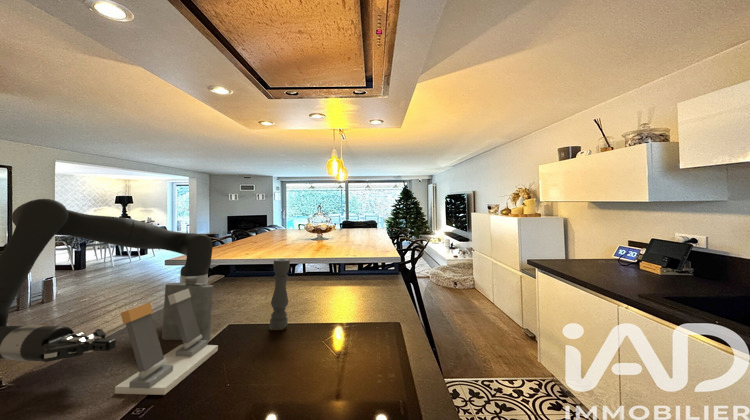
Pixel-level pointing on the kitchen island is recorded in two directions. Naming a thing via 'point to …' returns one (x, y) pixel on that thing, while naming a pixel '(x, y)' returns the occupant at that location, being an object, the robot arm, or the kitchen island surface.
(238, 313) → the kitchen island surface
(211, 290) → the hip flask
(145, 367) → the orange lever
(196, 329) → the grey lever
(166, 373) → the switch panel
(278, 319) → the candle holder
